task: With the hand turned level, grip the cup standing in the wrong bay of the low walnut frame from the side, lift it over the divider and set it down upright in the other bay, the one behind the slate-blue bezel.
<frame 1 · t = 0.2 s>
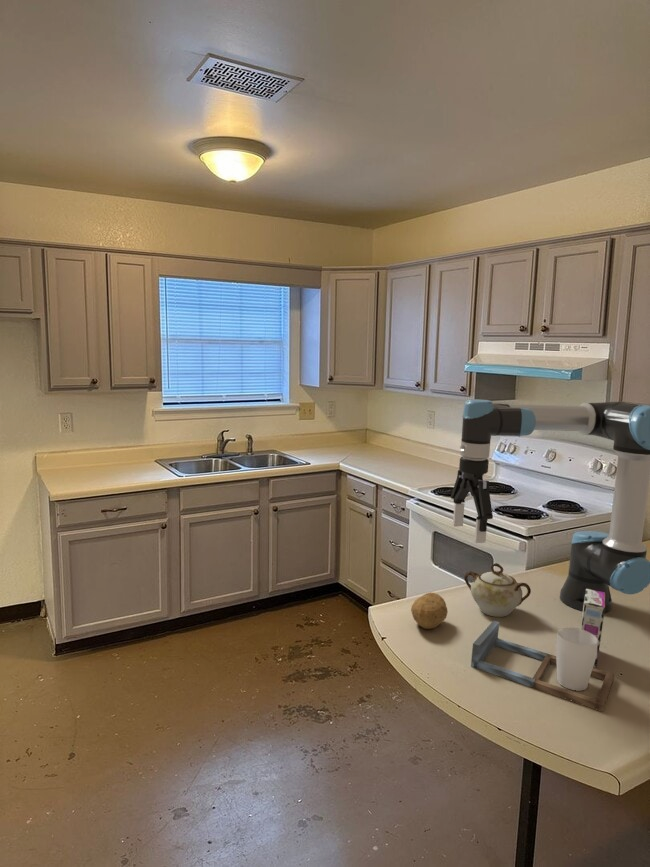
hand: (468, 534, 161), 28 cm above the table, tool pointing down, fingers open, 13 cm apart
sugar bowl: (494, 611, 179), on the table
bay frame: (541, 673, 145), on the table
cup: (571, 684, 141), resting in bay frame
candy bar box: (587, 657, 154), on the table
potato: (427, 626, 167), on the table
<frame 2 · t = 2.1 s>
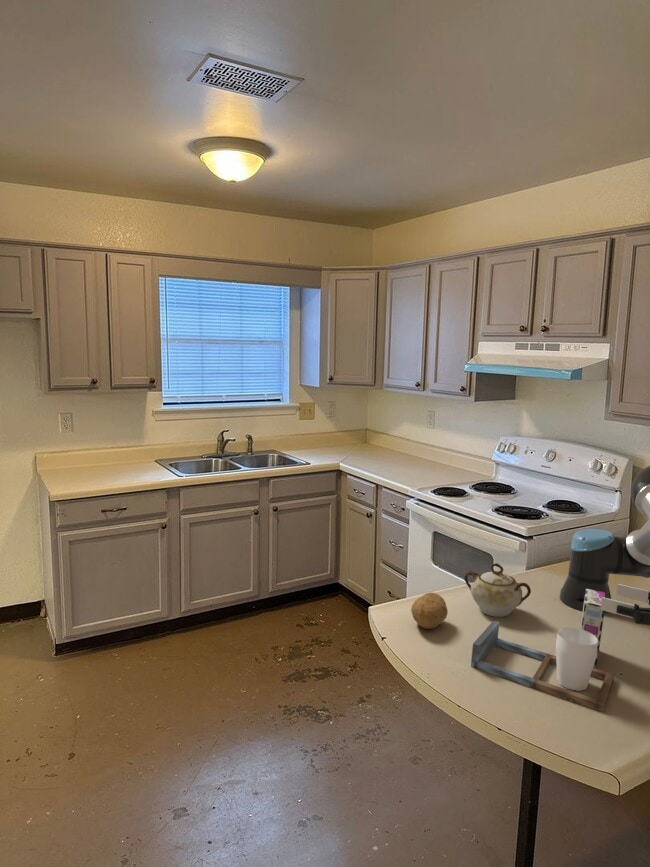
hand: (609, 596, 135), 23 cm above the table, tool horizontal, fingers open, 13 cm apart
nothing on the table moved.
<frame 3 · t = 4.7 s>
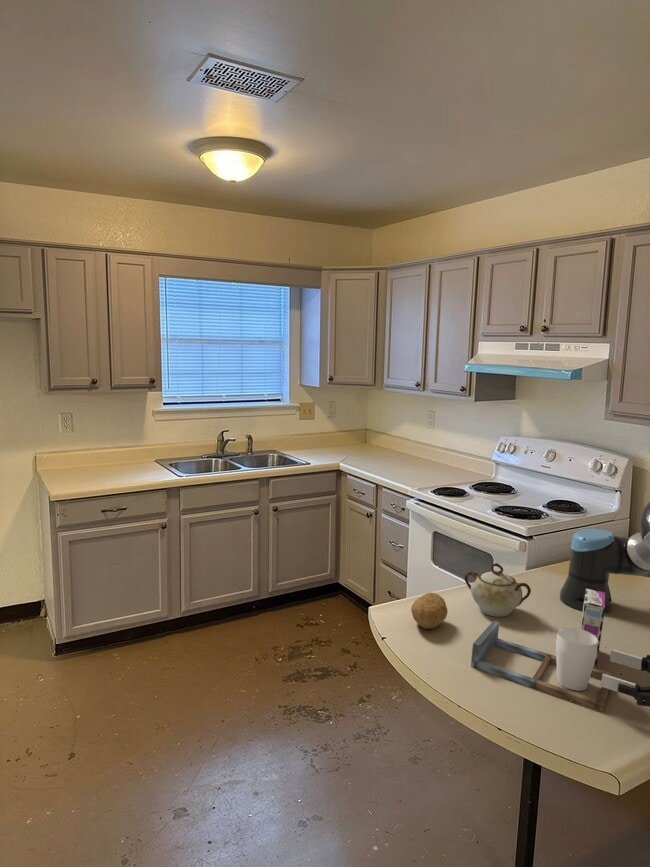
hand: (606, 666, 136), 7 cm above the table, tool horizontal, fingers open, 13 cm apart
nothing on the table moved.
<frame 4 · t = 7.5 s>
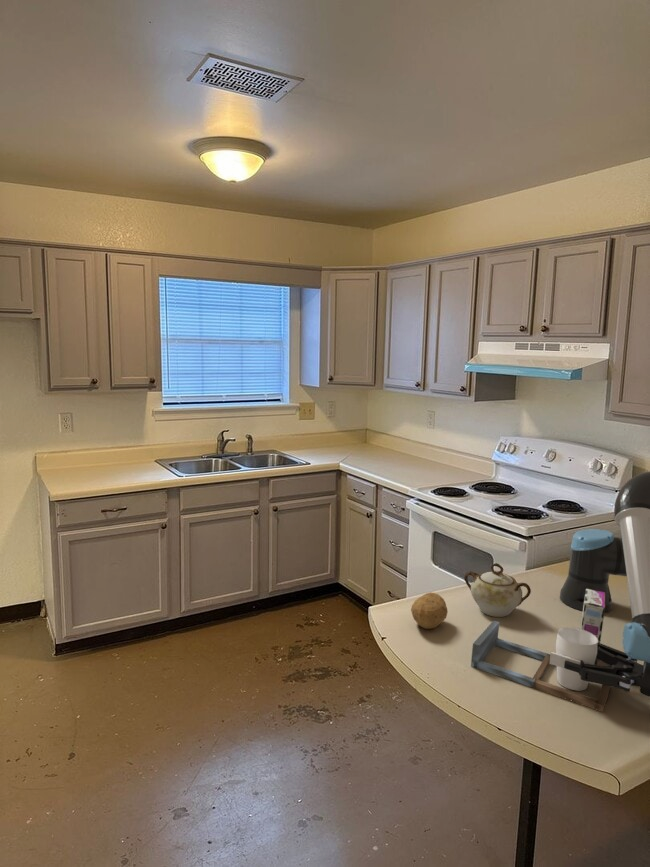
hand: (555, 649, 142), 7 cm above the table, tool horizontal, fingers closed on cup, 9 cm apart
cup: (571, 684, 141), resting in bay frame, touching gripper
everything else where it was.
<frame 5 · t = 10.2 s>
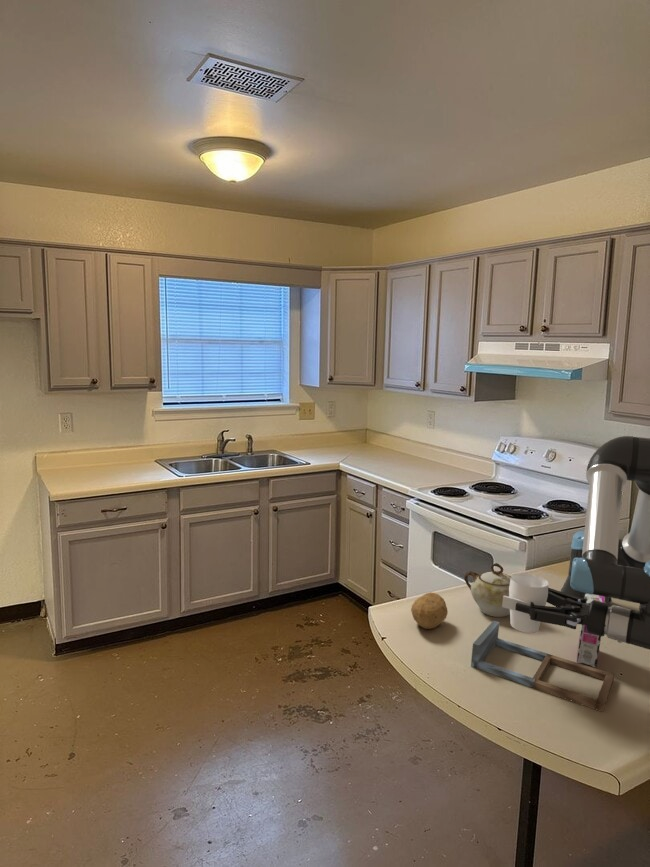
hand: (508, 594, 147), 18 cm above the table, tool horizontal, fingers closed on cup, 9 cm apart
cup: (524, 627, 145), point 10 cm above the table, touching gripper
everything else where it was.
when the fingers open (8 cm above the table, at t = 13.1 s): cup drops 1 cm, resting in bay frame.
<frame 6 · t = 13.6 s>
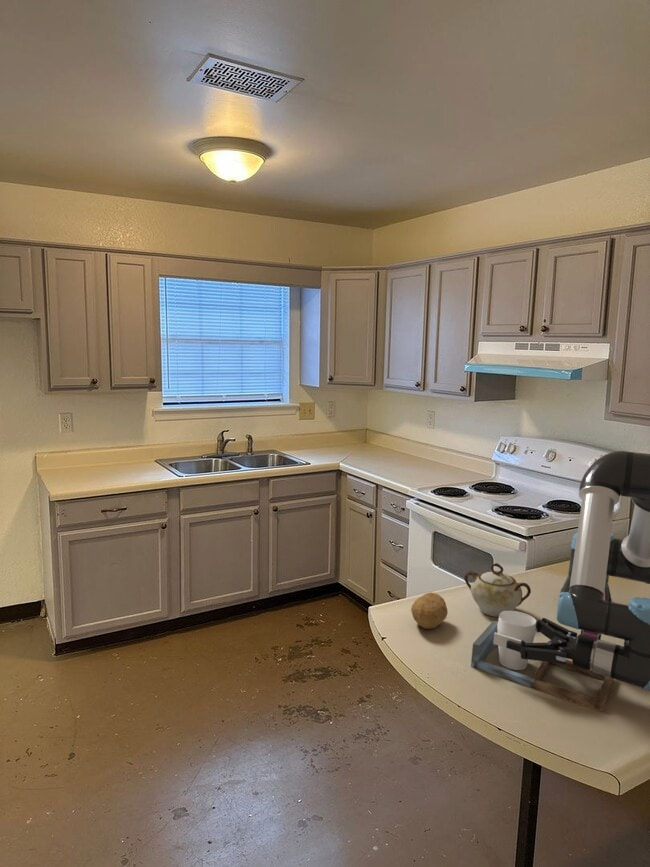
hand: (502, 627, 149), 8 cm above the table, tool horizontal, fingers open, 13 cm apart
cup: (512, 664, 149), resting in bay frame
everything else where it was.
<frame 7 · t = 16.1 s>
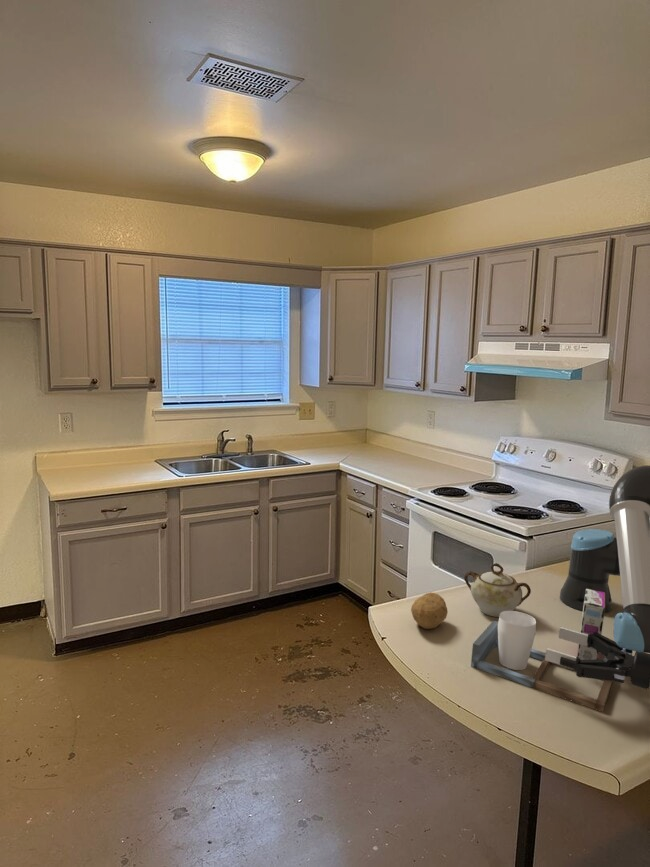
hand: (552, 642, 142), 9 cm above the table, tool horizontal, fingers open, 13 cm apart
nothing on the table moved.
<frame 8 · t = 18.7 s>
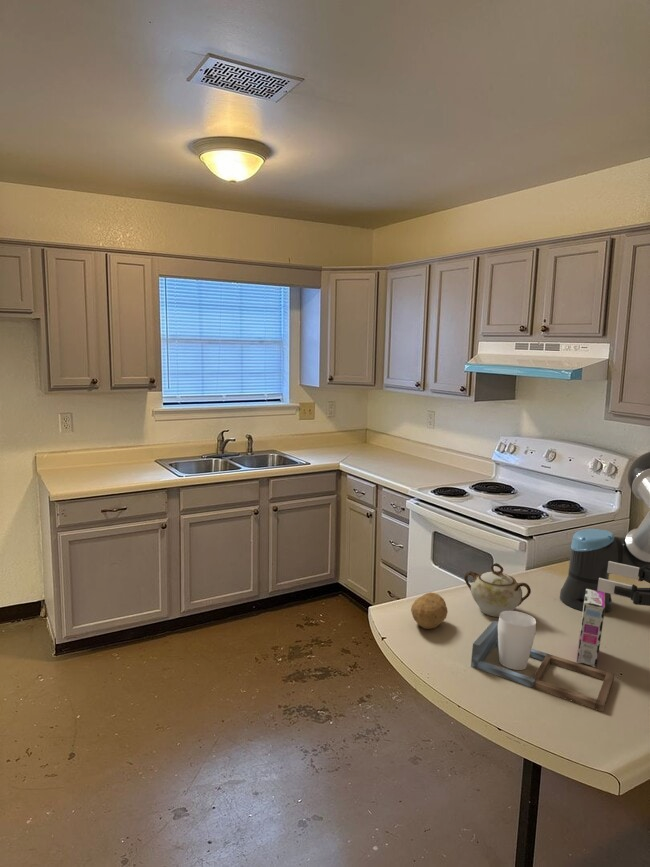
hand: (603, 575, 135), 28 cm above the table, tool horizontal, fingers open, 13 cm apart
nothing on the table moved.
at the end: cup 0.2 cm from the target spot on the bay frame, point 0.0 cm above the bay frame's base; cup tilted 0°; the gripper is holding nothing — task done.
